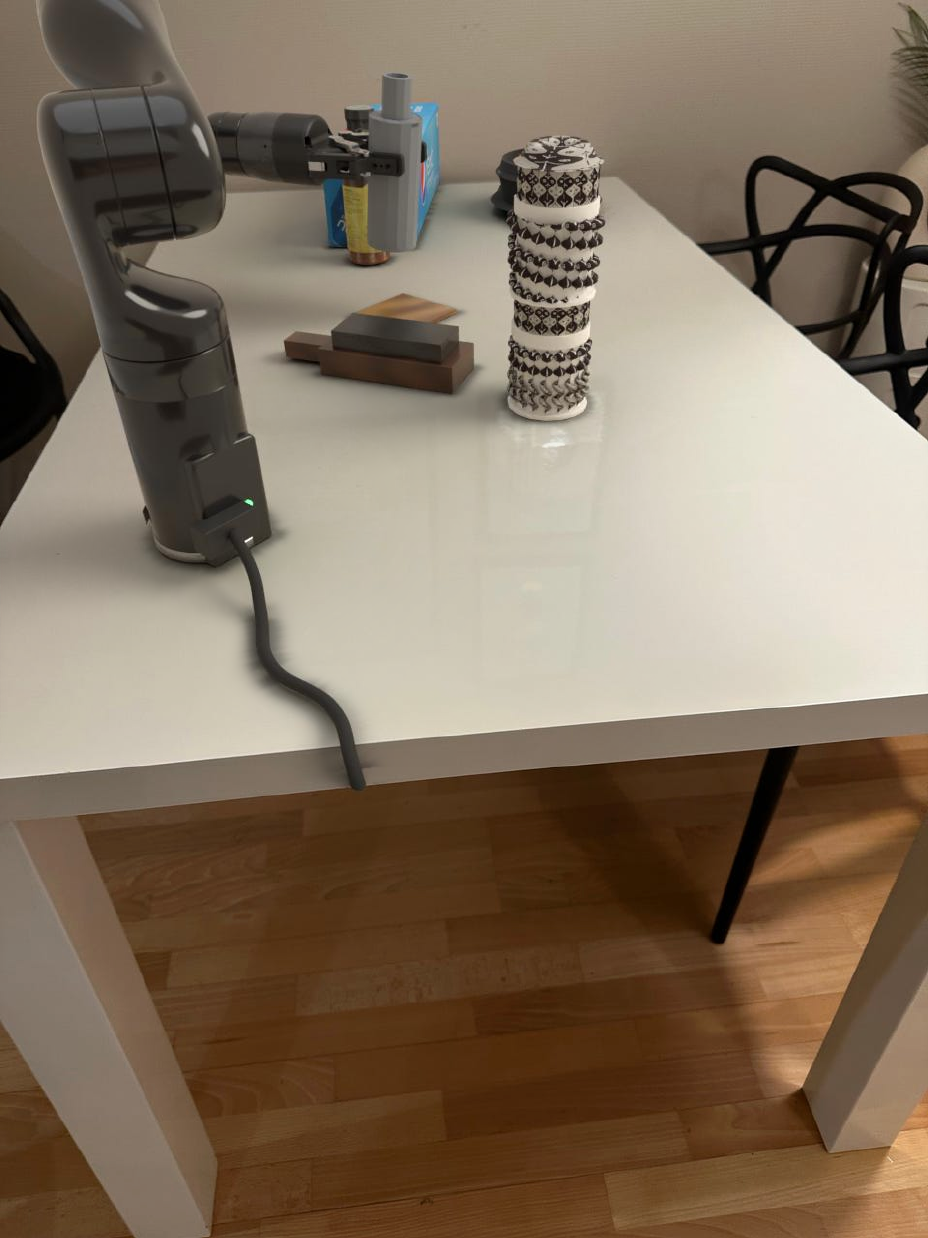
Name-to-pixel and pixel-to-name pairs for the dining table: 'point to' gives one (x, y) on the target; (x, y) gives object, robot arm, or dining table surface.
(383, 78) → the steel bottle
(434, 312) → the cork mat
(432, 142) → the soda pack
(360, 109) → the sauce bottle
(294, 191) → the dining table surface
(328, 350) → the scrub brush
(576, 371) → the decorative candle
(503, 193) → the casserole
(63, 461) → the dining table surface
